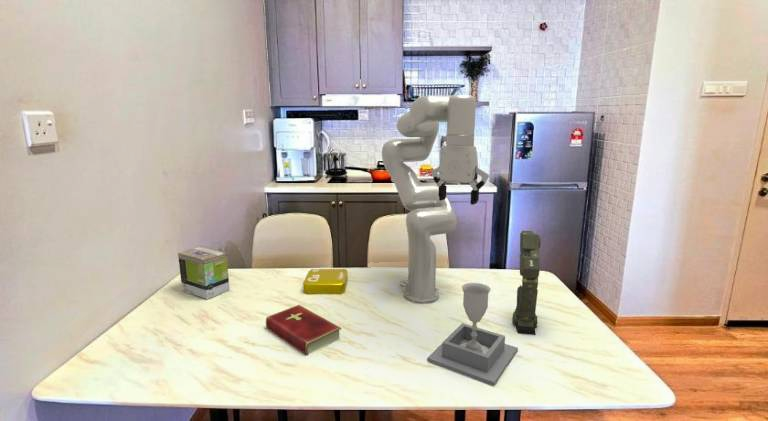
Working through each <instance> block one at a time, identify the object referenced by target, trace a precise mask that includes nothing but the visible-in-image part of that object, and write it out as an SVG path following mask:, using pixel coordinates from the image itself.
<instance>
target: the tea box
mask: <svg viewBox="0 0 768 421" xmlns="http://www.w3.org/2000/svg"><path fill="white" fill-rule="evenodd" d="M177 256H178V257H177V258H178V263H179V264H178V265H179V272H180V282H181V289H182V291H184V292H186V293H189V294H191V295H195V296H197V297H200V298H203V299H206V300H210V299H213V298H214V297H216V296H219V295H222V294H223V293H226V292H229V291H230V282H229V281H230V279H229V267H228V256H227V252H225V251H221V250H216V249H213V248H210V247H206V246H199V247H195V248H192V249H188V250H184V251H182V252H178V253H177Z"/></svg>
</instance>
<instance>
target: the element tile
mask: <svg viewBox="0 0 768 421" xmlns="http://www.w3.org/2000/svg"><path fill="white" fill-rule="evenodd" d="M348 276H349V275H348V270H347V269H346V268H345V269H344V268H313V269H312V268H311V269H309V271H307V274H306V276H305V278H304V280H303V283H302V284H303V286H302V287H303V294H305V295H342V294H345V292H346V289H347V285H348V280H349V278H348Z"/></svg>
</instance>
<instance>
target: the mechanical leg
mask: <svg viewBox="0 0 768 421" xmlns="http://www.w3.org/2000/svg"><path fill="white" fill-rule="evenodd" d="M519 235H520V240H519V251H520V254H519V276H521V277H522V278H521V279H522V280H521V282H522V283H521V284H519V286H518V287H517V289H516V290H517V291H516V306H515V310H514V311H513V312H512V325H513V326H514V328H515V330H516V332H517V334H520V335H521V334H522V335H530V336H535V335H536V328H537V327H538V323H539V322H538V321H539V320H538V319H539V318H538V315H536V311H537V310H536V308H537V299H538V292H539V290H538V286H539V277H540V248H541V245H542V244H541V242H542V240H541V235H540V234H538V233H537V232H536V233H535V232H533V231H531V230H522V231H520V233H519Z"/></svg>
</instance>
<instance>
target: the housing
mask: <svg viewBox="0 0 768 421" xmlns="http://www.w3.org/2000/svg"><path fill="white" fill-rule="evenodd" d="M471 327H472V325H471V324H470V325H469V324H467V323H463V322H462V323H461V324H459V325H458V326H457V327H456V328H455V329H454V330H453V332H451V333H450V334H449V335H448V336H447V337H446V338H445V339H444V340H443V341H442V343H441V344H440V345H438V347H437V348H436V349H435V350H434V351H432V353H431V354H429V355H428V356H427V358H426V362H428V363H431V364H434V365H437V366H440V367H442V368H445V369H447V370H450V371H452V372H455V373H458V374H461V375H463V376H466V377H469V378H471V379H474V380H477V381H479V382H482V383H485V384H487V385H490V386H493V387H495V385H496V384H497V382H498V381H500V378H501V376H502V375H503V374H504V373H505V370H506V369H507V367H508V366H509V365H510V363H511V362H512V360H513V359H514V357H515V356H516V354H517V353H518V350H519V348H518V347H517V346H514V345H510V344H507V343H506V335H503V334H499V333H497V332H495V331H490V330H487V329H484V328H480V327H477V328H478V329H477V330H476V333H477V336H476V341H477V342H479V344H480V345H481V348H482V350H483V353H481V352H478V351H475V350H472V349H469V348H466V347H465V346H466V345H467V343H468V342H469V341H471V340H472V336H471V333H472V329H471Z"/></svg>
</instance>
